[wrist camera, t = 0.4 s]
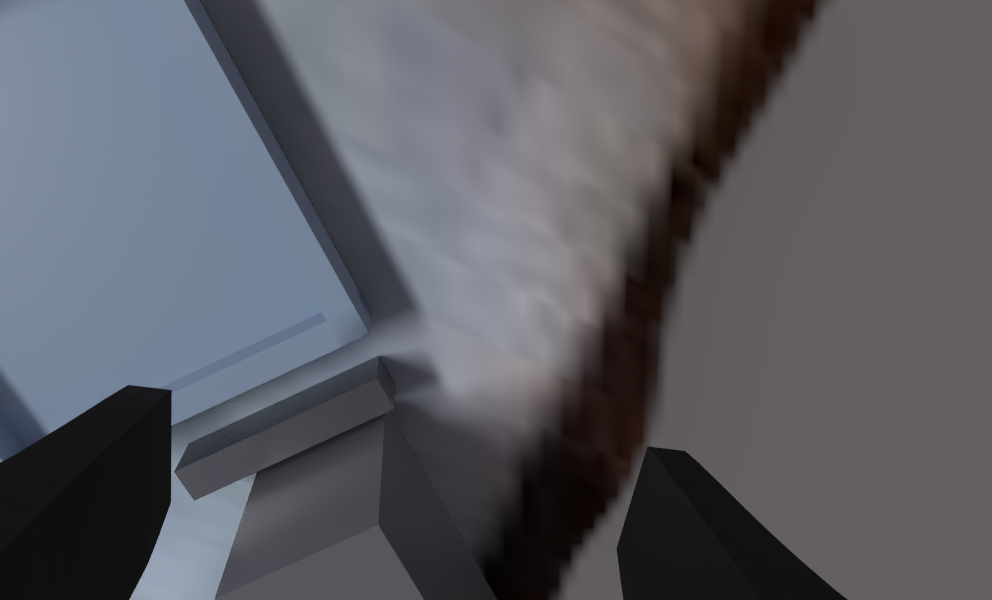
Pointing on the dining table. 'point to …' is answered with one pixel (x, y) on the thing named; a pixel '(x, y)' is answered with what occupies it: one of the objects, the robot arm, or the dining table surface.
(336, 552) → the grey bar
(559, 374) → the dining table surface
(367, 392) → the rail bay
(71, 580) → the robot arm
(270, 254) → the tray
